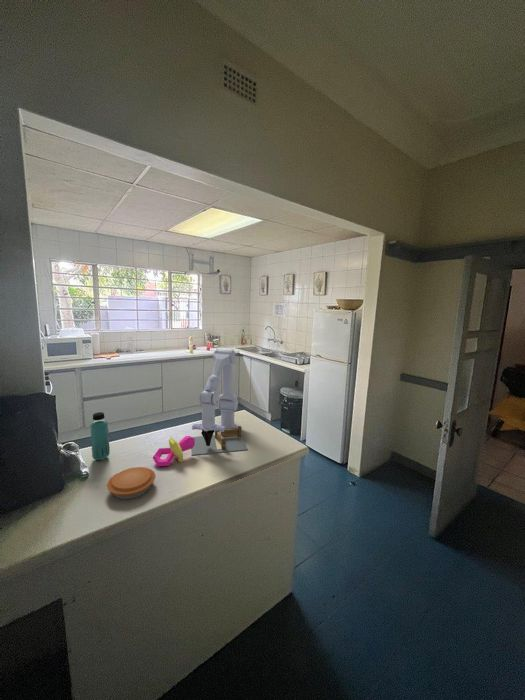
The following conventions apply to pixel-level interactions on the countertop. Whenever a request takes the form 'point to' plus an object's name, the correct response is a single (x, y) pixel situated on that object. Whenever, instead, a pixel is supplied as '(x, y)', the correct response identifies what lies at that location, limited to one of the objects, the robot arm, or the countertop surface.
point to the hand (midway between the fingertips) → (208, 445)
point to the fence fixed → (230, 432)
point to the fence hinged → (221, 440)
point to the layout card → (218, 445)
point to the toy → (174, 451)
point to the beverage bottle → (99, 437)
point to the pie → (131, 482)
